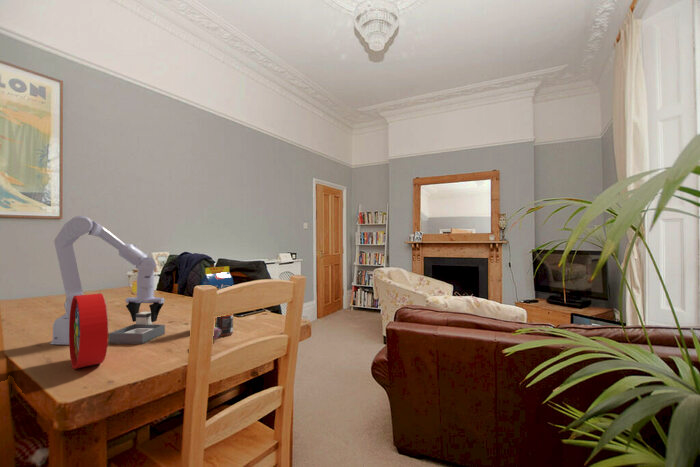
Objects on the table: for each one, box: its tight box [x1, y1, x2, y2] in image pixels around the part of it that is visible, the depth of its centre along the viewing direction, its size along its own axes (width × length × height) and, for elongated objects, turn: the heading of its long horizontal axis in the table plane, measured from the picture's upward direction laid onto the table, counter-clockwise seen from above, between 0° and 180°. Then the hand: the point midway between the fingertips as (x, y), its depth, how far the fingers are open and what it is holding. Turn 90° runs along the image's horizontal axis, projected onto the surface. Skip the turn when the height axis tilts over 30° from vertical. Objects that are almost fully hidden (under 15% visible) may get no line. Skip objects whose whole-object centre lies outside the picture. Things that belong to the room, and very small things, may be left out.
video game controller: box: [213, 327, 222, 343], centre depth 107 cm, size 10×5×7 cm, turn 169°
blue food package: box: [199, 265, 235, 327], centre depth 130 cm, size 6×12×25 cm, turn 153°
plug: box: [135, 311, 154, 324], centre depth 124 cm, size 4×4×7 cm
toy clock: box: [68, 292, 109, 370], centre depth 89 cm, size 20×6×20 cm, turn 48°
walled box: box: [108, 323, 166, 345], centre depth 113 cm, size 12×12×4 cm
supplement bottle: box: [216, 313, 234, 337], centre depth 119 cm, size 6×6×11 cm
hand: (144, 321), depth 124 cm, fingers open, 7 cm apart
